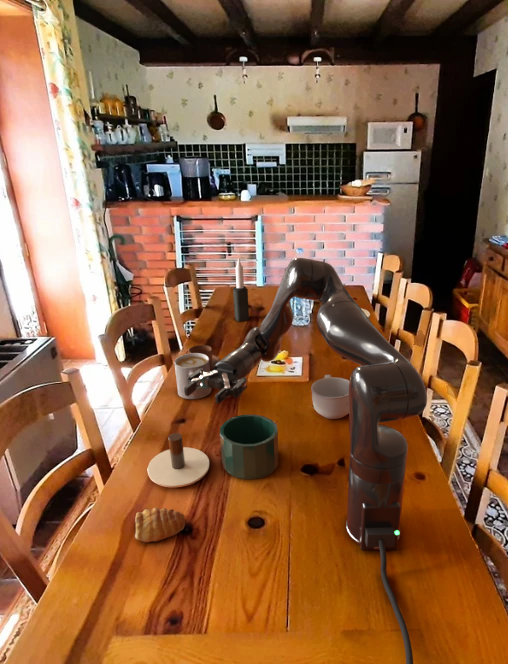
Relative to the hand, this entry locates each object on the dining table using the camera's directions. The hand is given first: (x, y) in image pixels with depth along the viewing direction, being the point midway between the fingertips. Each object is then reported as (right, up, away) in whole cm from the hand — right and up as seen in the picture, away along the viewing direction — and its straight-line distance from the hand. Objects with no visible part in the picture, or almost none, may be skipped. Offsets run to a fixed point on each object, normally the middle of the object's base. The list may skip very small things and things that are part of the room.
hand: (201, 396), depth 112 cm
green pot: (+11, -14, -3) cm, 19 cm away
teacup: (+34, -6, +16) cm, 38 cm away
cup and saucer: (-2, +4, +45) cm, 45 cm away
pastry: (-7, -23, -20) cm, 32 cm away
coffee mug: (-4, -3, +28) cm, 29 cm away
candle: (+11, +22, +85) cm, 88 cm away
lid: (-5, -15, -4) cm, 17 cm away
